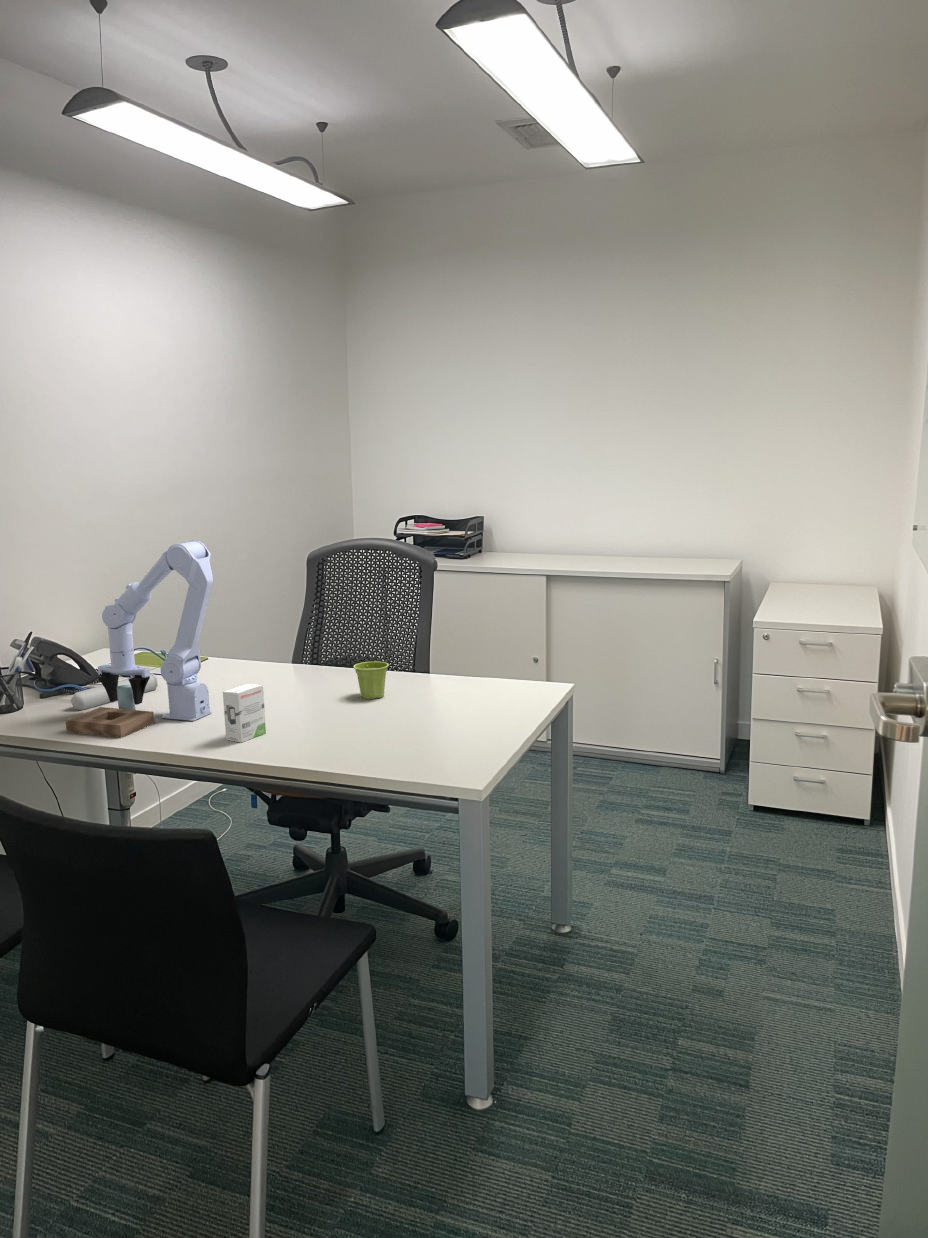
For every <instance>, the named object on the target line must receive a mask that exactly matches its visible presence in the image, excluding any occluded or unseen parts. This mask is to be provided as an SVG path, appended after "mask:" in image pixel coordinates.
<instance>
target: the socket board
mask: <svg viewBox="0 0 928 1238" xmlns="http://www.w3.org/2000/svg"><path fill="white" fill-rule="evenodd" d="M154 724H155V713H154V711H148V710H136V709H135V710H128V709H119V708H114V707H103V706H98V707H96V708H94V709H92V710H89V711H86V712H84V713H81V714H79V715H78V714H77V715H75V716H72V717H70V718H67V719H65V730H66V733H69V734H81V735H90V736H91V735H92V736H98V735H99V736H100V737H108V736H109V737H110V738H118V737H122V738H125V737H126V735H127V736H129V735H132V734H134V733H136V732H138V731H141V730H143V729H146V728H148V727H149V726H152V725H154ZM147 726H148V727H147ZM140 729H141V730H140ZM133 732H134V733H133ZM109 737H108V738H109Z"/></svg>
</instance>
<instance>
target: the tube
mask: <svg viewBox="0 0 928 1238" xmlns="http://www.w3.org/2000/svg"><path fill="white" fill-rule="evenodd" d="M133 677H134V676H133ZM133 677H129V678H125V679H121V680H118V686H121V685H131V684H130V682H129V679H130V678H133ZM158 684H159V683H158V677H157V676H156V675H155V674H154V673H153V672H150V679H149V681H148V683H147V685H146V687H145V691H144V694H146V693H149V692H152V691H156V690H157V688H158V686H159V685H158ZM70 703H71V705H72V708H73V710H77V711H78V710H79V711H85V710H88V709H92V708H97V707H101V706H103V705H107V704H109V703H111V702H110V700H109V697H108V694H107V692H106V690H105V688H104V686H103V684H102V685H99V686H95V687H91V688H88V689H85V690H80V691H76V692H75V693H74V694H73V696H72V697H71V698H70Z"/></svg>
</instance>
